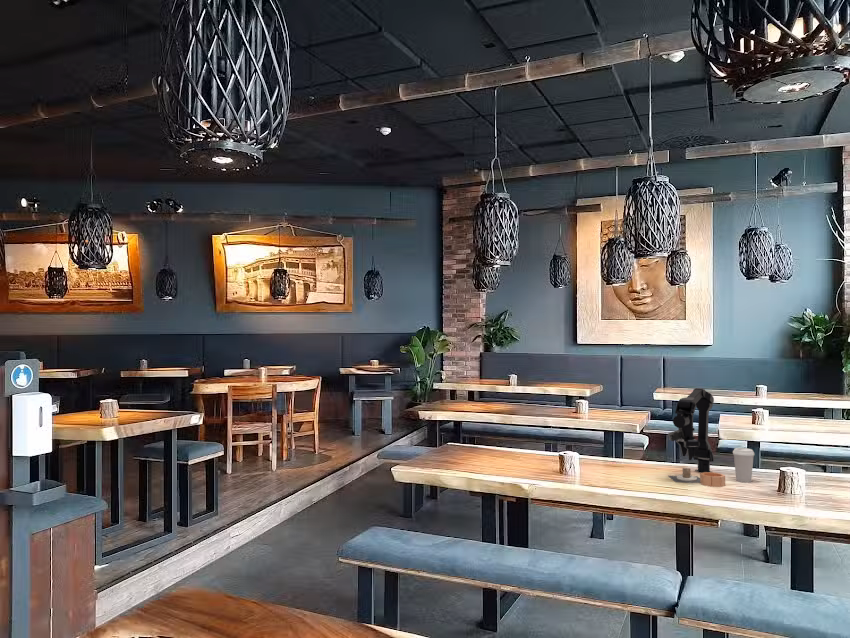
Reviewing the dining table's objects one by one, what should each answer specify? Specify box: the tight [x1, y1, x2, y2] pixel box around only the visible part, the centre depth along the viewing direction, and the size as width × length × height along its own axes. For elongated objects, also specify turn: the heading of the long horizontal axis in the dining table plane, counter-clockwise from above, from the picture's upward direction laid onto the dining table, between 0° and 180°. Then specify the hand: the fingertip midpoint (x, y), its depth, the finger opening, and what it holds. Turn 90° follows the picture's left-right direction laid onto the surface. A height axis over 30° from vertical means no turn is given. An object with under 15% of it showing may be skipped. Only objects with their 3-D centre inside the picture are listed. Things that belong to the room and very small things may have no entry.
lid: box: [676, 467, 698, 481], centre depth 310 cm, size 9×9×5 cm
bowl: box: [699, 471, 726, 488], centre depth 300 cm, size 10×10×5 cm
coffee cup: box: [732, 447, 755, 483], centre depth 309 cm, size 10×10×15 cm
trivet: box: [667, 475, 701, 484], centre depth 310 cm, size 14×14×1 cm
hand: (686, 458), depth 310 cm, fingers open, 9 cm apart
